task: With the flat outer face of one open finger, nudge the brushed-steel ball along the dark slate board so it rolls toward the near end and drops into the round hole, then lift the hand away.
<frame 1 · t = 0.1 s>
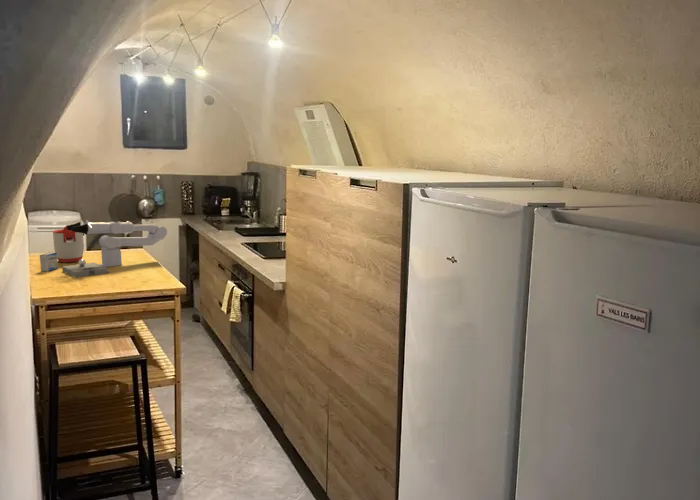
hand: (69, 228, 334), 22 cm above the table, tool horizontal, fingers open, 7 cm apart
citrus juicer: (70, 261, 361), on the table
medicine box: (49, 270, 338), on the table
board: (85, 272, 332), on the table
ball: (82, 262, 334), point 4 cm above the table, touching board
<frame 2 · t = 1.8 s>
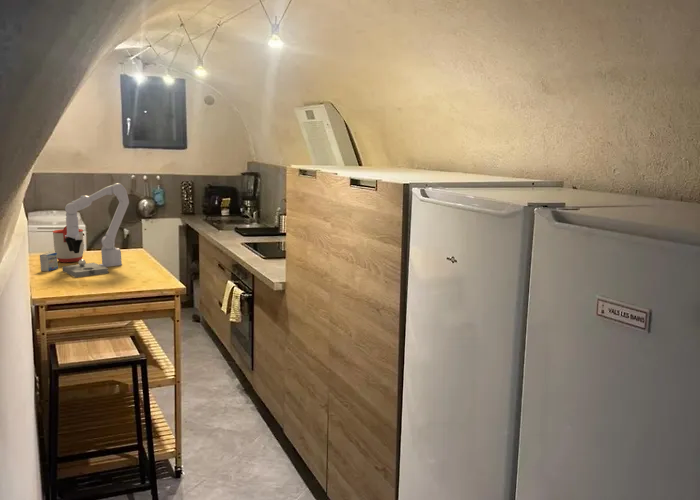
hand: (74, 252, 342), 8 cm above the table, tool pointing down, fingers open, 7 cm apart
nothing on the table moved.
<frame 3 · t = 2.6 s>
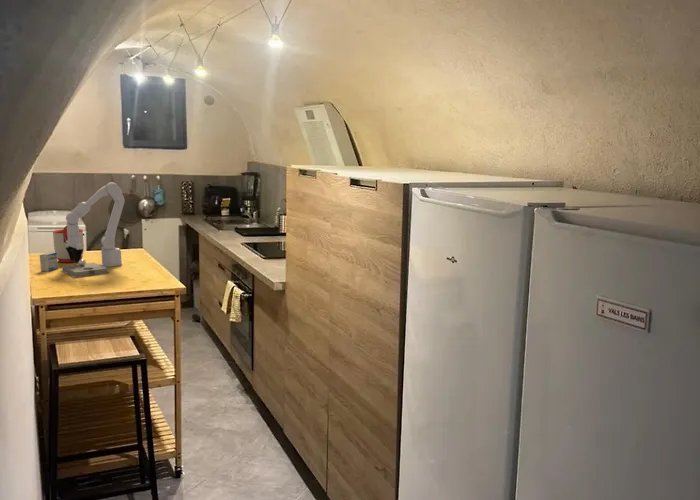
hand: (75, 261, 342), 3 cm above the table, tool pointing down, fingers open, 7 cm apart
nothing on the table moved.
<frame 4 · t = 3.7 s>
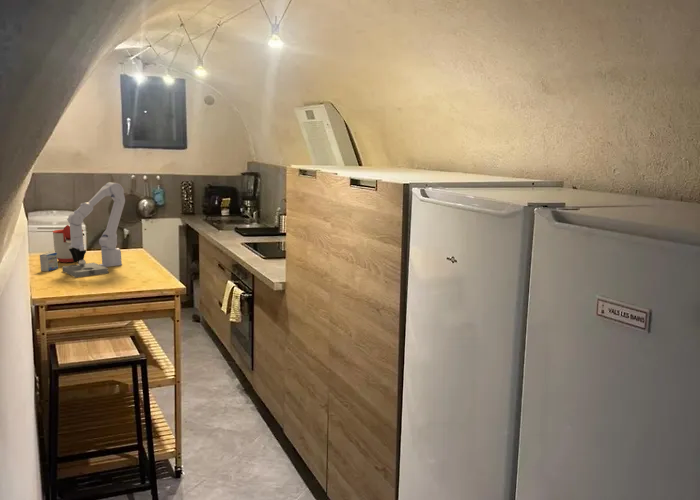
hand: (78, 262, 338), 3 cm above the table, tool pointing down, fingers open, 6 cm apart
ball: (82, 262, 334), point 4 cm above the table, touching board, gripper
everything else where it was.
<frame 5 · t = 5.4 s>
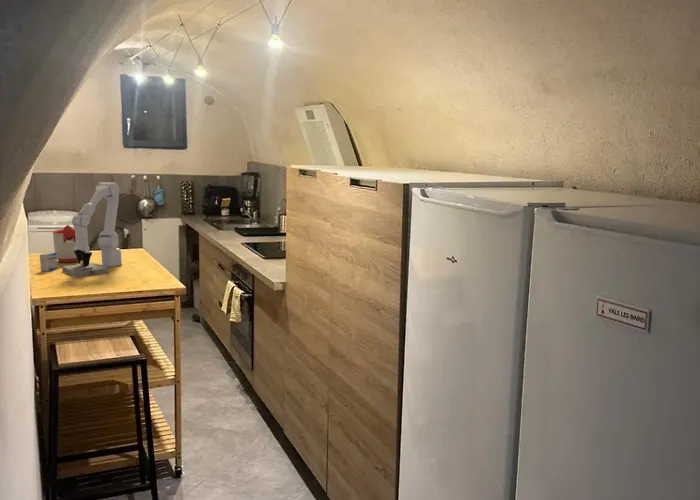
hand: (83, 265, 332), 3 cm above the table, tool pointing down, fingers open, 7 cm apart
ball: (83, 263, 333), point 4 cm above the table, tilted 109°, touching board
everything else where it was.
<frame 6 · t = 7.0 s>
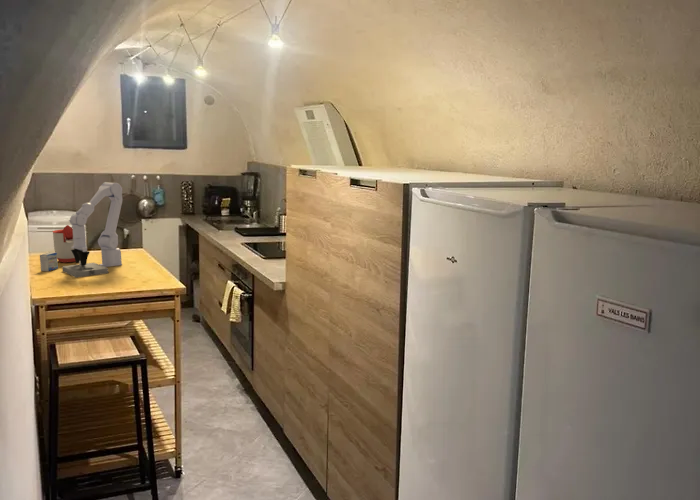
hand: (81, 263, 335), 3 cm above the table, tool pointing down, fingers open, 7 cm apart
ball: (82, 262, 334), point 4 cm above the table, tilted 76°, touching board
everything else where it was.
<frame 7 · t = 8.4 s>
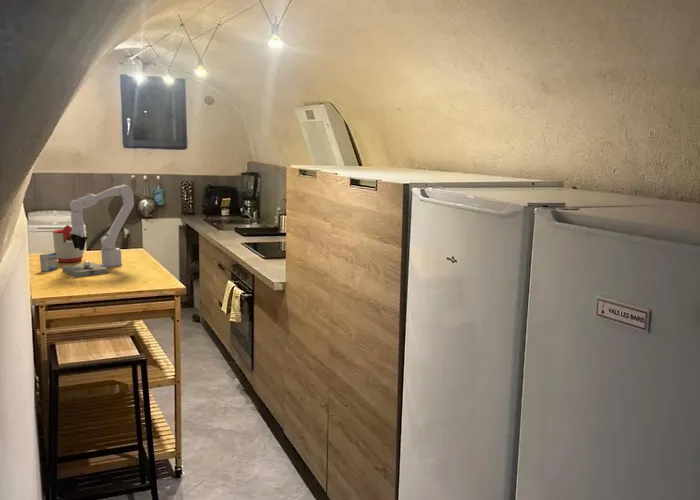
hand: (79, 249, 341), 10 cm above the table, tool pointing down, fingers open, 7 cm apart
ball: (86, 264, 330), point 4 cm above the table, tilted 87°, touching board
everything else where it was.
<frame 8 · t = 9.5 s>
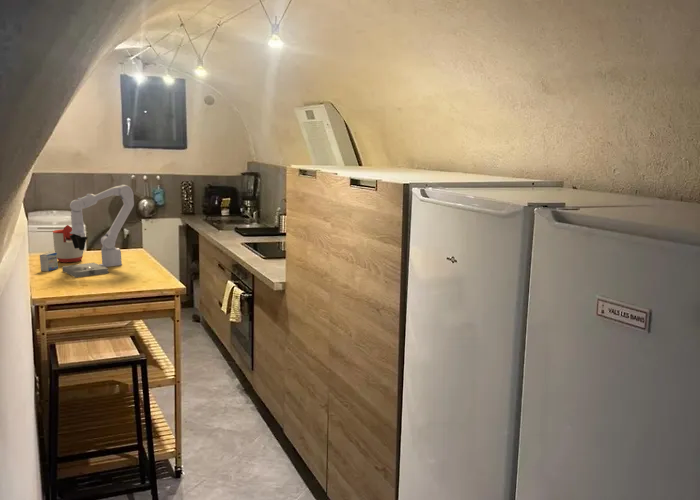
hand: (79, 249, 341), 10 cm above the table, tool pointing down, fingers open, 7 cm apart
ball: (89, 270, 327), point 2 cm above the table, tilted 58°
everything else where it was.
at the end: ball 0.6 cm from the target spot on the board, point 1.7 cm above the board's base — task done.
